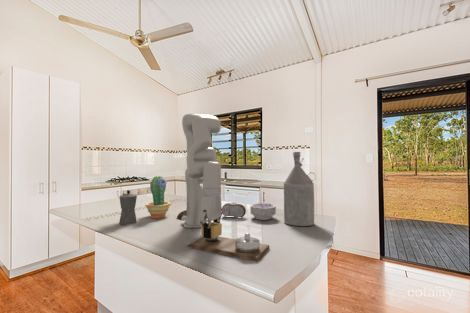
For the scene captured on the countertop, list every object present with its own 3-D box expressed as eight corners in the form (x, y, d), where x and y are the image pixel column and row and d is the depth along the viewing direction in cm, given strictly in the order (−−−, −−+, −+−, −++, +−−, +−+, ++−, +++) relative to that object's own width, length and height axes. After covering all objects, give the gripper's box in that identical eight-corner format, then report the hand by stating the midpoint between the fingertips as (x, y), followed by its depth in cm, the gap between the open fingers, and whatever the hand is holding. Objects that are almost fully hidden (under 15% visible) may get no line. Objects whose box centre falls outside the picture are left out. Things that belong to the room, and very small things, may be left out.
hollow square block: (201, 236, 94) (201, 225, 94) (209, 232, 99) (209, 221, 100) (213, 238, 91) (214, 227, 92) (221, 234, 97) (221, 223, 97)
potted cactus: (143, 220, 134) (144, 177, 135) (146, 214, 149) (146, 175, 150) (171, 218, 138) (171, 176, 139) (171, 213, 153) (171, 175, 154)
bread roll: (189, 214, 150) (189, 207, 150) (202, 217, 142) (202, 209, 142) (172, 218, 140) (172, 210, 140) (185, 221, 132) (185, 213, 132)
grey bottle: (316, 228, 118) (315, 150, 120) (282, 225, 124) (281, 151, 125) (316, 222, 130) (315, 152, 131) (285, 219, 136) (284, 152, 137)
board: (188, 247, 91) (188, 243, 91) (206, 237, 103) (206, 234, 103) (257, 261, 78) (256, 257, 78) (269, 248, 90) (269, 245, 90)
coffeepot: (141, 223, 126) (141, 190, 127) (123, 227, 120) (123, 192, 120) (131, 218, 138) (131, 188, 138) (113, 221, 131) (114, 189, 131)
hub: (231, 250, 84) (231, 234, 84) (241, 243, 92) (241, 228, 92) (254, 255, 80) (254, 238, 80) (262, 246, 88) (262, 231, 88)
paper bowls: (247, 220, 134) (247, 206, 134) (253, 214, 149) (253, 202, 149) (274, 222, 130) (274, 208, 130) (277, 216, 144) (277, 203, 144)
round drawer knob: (203, 241, 94) (203, 230, 94) (209, 237, 99) (209, 227, 99) (213, 243, 92) (213, 232, 92) (219, 239, 96) (219, 228, 97)
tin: (246, 217, 141) (246, 203, 141) (244, 219, 138) (244, 204, 138) (222, 216, 145) (222, 202, 145) (220, 217, 142) (221, 203, 142)
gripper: (215, 189, 105) (214, 229, 105) (191, 193, 90) (191, 240, 89) (229, 190, 102) (229, 231, 101) (207, 194, 87) (207, 243, 86)
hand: (211, 235), depth 95 cm, fingers closed on hollow square block, 5 cm apart
